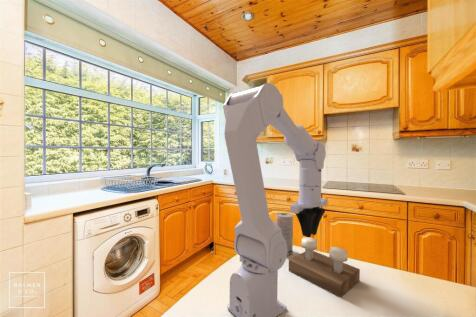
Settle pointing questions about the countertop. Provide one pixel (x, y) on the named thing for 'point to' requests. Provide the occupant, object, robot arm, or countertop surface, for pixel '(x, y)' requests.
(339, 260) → the knob near
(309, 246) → the knob far
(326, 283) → the block
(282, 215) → the energy drink
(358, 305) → the countertop surface
